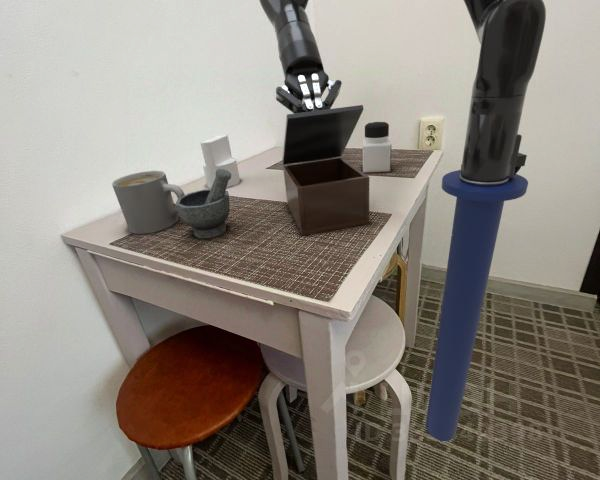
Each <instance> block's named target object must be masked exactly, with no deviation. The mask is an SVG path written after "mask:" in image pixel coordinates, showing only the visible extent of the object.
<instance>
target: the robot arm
mask: <svg viewBox="0 0 600 480" xmlns="http://www.w3.org/2000/svg"><path fill="white" fill-rule="evenodd" d="M258 1H259V4H260V6H261V9H262V10H263V12H264V14H265V15H266V18H267V19H268V22H270V24H271V25H272V27H273V29H274V33H275V37H276V42H277V51H278V58H279V61H280V63H281V67H282V71H283V76H284V82H283V83H284V84H283V85H282V86H277V87H275V99H276V101H277V102H278V103H279V104H280V105H282V106H283V107H285V108H286V109H287V110H288V111H290V112H291V113H292V114H295V113H303V112H311V111H318V110H326V109H332V107H333V105H334V104H335V101H336V100H337V98H338V96H339V94H340V91H341V89H342V88H341V87H342V84H343V83H342V81H341V80H340V79H337V80H335V81H334V80H331V79H330V77H329V75H328V73H326V71H325V68H324V64H323V61H322V58H321V57H322V56H321V54H320V50H319V47H318V43H317V40H316V37H315V35H314V33H313V31H312V28H311V24H310V21H309V16H308V14H307V12H306V9H307V6H308V4H309V0H258ZM463 2H464V5H465V7H466V9H467V12H468V15H469V18H470V19H471V22H472V26H473V28H474V30H475V33H476V36H477V39H478V42H479V44H480V49H479V56H478V63H477V68H476V73H475V77H474V80H473V83H472V88H471V96H470V102H469V103H470V105H469V110H468V117H467V125H466V131H465V139H464V147H463V155H462V161H461V164H460V170H461V174H460V181H462V182H464V183H466V184H469V185H474V186H484V187H490V186H500V185H504V184H506V183H507V182H512V180H513V176H515V174H518V172H519V171H520V170H521V169H522V167H525V165H526V161H527V157H528V155H527V154H524V153H521V152H519V151H520V147H521V142H522V134H519V129H520V125H521V120H522V119H521V118H522V115H523V108H524V105H525V99H526V95H527V91H528V87H529V83H530V81H531V79H532V77H533V76H534V73H535V69H536V65H537V60H538V56H539V54H540V49H541V44H542V40H543V37H544V36H543V35H544V31H545V26H546V19H547V10H546V4H545V2H544V0H463ZM326 89H327V92H328V93H327V95H326V96H325V98H324V100H323V101H322V97H323V95H324V93H325V91H326Z"/></svg>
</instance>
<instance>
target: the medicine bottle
mask: <svg viewBox="0 0 600 480" xmlns="http://www.w3.org/2000/svg"><path fill="white" fill-rule="evenodd" d="M389 132H390V125H389V123H388V122H386V121H370V122H368V123H366V124H365V125H364V139H363V140H362V172H363V173H364V174H366V173H368V174H369V173H387V172H388V173H390V172H391V171H392V143H391V140H390V138H389V136H390V135H389V134H390V133H389Z"/></svg>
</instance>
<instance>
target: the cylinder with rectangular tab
mask: <svg viewBox="0 0 600 480" xmlns="http://www.w3.org/2000/svg"><path fill="white" fill-rule="evenodd" d="M200 147H201V148H200V149H201V151H202V156H203V160H204V162H202V168H203V173H204V176H205V181H206V185H207V188H208V189H211V187H212V185H213V182H214V180H215V177H216V170H217V169H225V170H227V171H229V172H230V173H231V179H230V180H228V184H227V188H229V187H230V188H231V187H234V186H236V185H238V184H240V182H241V178H240V171H239V167H238V163H237V158H235V157H233V154H232V149H231V145H230V139H229V135H228V134H227V135H225V134H222V135H216V136H214V137H212V138H209V139H206V140H204V141H201V142H200Z"/></svg>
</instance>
